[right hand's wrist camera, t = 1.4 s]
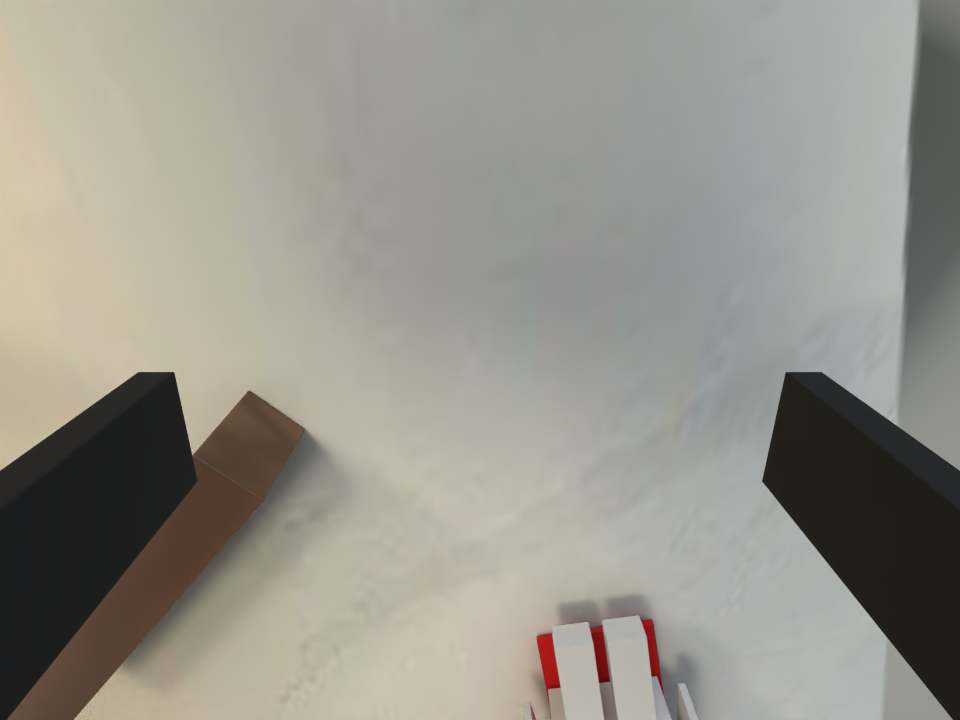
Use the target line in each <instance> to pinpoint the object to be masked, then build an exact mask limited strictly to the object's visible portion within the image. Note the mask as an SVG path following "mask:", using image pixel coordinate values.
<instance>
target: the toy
mask: <svg viewBox="0 0 960 720" xmlns="http://www.w3.org/2000/svg"><path fill="white" fill-rule="evenodd" d="M602 626H603V627H598V628H591V629H590V627H589V623H588V622H582V623H574V624H566V625H558V626H551V628H552V634H550V635H544V636H537V643H538V648H539V653H540V659H541V664H542V669H543V674H544V679H545V684H546V689H547V695H548V700H549V705H550V713H551V720H672V719H671V716H670V713H669V710H668V707H667V704H666V701H665V699H664V695H663V688H662V681H661V674H660V667H659V660H658V653H657V647H656V640H655V633H654V626H653V622H652V620H645V621H641V619H640V617H639V615H637V616H630V617H622V618H614V619H606V620H602ZM523 707H524V717H525V720H536V718H535V715H534V712H533V709H532V706H531V704H530V702H528V703H524V704H523ZM678 720H698V717H697V714H696V712H695V709H694V706H693V703H692V701H691V698H690V695H689V692H688V690H687V687H686V684H685V683H678Z"/></svg>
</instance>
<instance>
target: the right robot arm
mask: <svg viewBox="0 0 960 720" xmlns="http://www.w3.org/2000/svg"><path fill="white" fill-rule="evenodd" d="M197 482H198V480H197V476H196V471H195V466H194V462H193V457H192V452H191V448H190V443H189V439H188V434H187V429H186V425H185V420H184V415H183V411H182V406H181V401H180V397H179V392H178V388H177V383H176V378H175V374H174V372H138V373H137V374H135V375H134V376H133V377H131V378H130V379H128V380H127V381H126V382H124V383H123V384H121V385H120V386H119V387H117V388H116V389H114V390H113V391H111V392H110V393H109V394H107V395H106V396H104V397H103V398H102V399H100V400H99V401H97V402H96V403H95V404H93V405H92V406H90V407H89V408H88V409H86V410H85V411H83V412H82V413H81V414H79V415H78V416H76V417H75V418H74V419H72V420H71V421H69V422H68V423H67V424H65V425H64V426H62V427H61V428H60V429H58V430H57V431H55V432H54V433H53V434H51V435H50V436H48V437H47V438H46V439H44V440H43V441H41V442H40V443H39V444H37V445H36V446H34V447H33V448H32V449H30V450H29V451H27V452H26V453H25V454H23V455H22V456H20V457H19V458H18V459H16V460H15V461H13V462H12V463H11V464H9V465H8V466H6V467H5V468H4V469H2V470H1V471H0V720H7V719H8V718H9V717H10V715H11V714H12V713H13V712H14V710H15V709H16V708H17V707H18V705H19V704H20V703H21V702H22V700H23V699H24V698H25V697H26V695H27V694H28V693H29V692H30V690H31V689H32V688H33V687H34V685H35V684H36V683H37V682H38V680H39V679H40V678H41V677H42V675H43V674H44V673H45V672H46V670H47V669H48V668H49V667H50V665H51V664H52V663H53V662H54V660H55V659H56V658H57V657H58V655H59V654H60V653H61V652H62V650H63V649H64V648H65V647H66V645H67V644H68V643H69V642H70V640H71V639H72V638H73V637H74V635H75V634H76V633H77V632H78V630H79V629H80V628H81V627H82V625H83V624H84V623H85V622H86V620H87V619H88V618H89V617H90V615H91V614H92V613H93V612H94V610H95V609H96V608H97V607H98V605H99V604H100V603H101V602H102V600H103V599H104V598H105V597H106V595H107V594H108V593H109V592H110V590H111V589H112V588H113V587H114V585H115V584H116V583H117V582H118V580H119V579H120V578H121V577H122V575H123V574H124V573H125V572H126V570H127V569H128V568H129V567H130V565H131V564H132V563H133V562H134V560H135V559H136V558H137V557H138V555H139V554H140V553H141V552H142V550H143V549H144V548H145V547H146V545H147V544H148V543H149V542H150V540H151V539H152V538H153V537H154V535H155V534H156V533H157V532H158V530H159V529H160V528H161V527H162V525H163V524H164V523H165V522H166V520H167V519H168V518H169V517H170V515H171V514H172V513H173V512H174V510H175V509H176V508H177V507H178V505H179V504H180V503H181V502H182V500H183V499H184V498H185V497H186V495H187V494H188V493H189V492H190V490H191V489H192V488H193V487H194V485H195V484H196V483H197ZM762 482H763V483H764V484H765V485H766V487H767V488H768V489H769V490H770V492H771V493H772V494H773V495H774V497H775V498H776V499H777V500H778V502H779V503H780V504H781V505H782V507H783V508H784V509H785V510H786V512H787V513H788V514H789V515H790V517H791V518H792V519H793V520H794V522H795V523H796V524H797V525H798V527H799V528H800V529H801V530H802V532H803V533H804V534H805V535H806V537H807V538H808V539H809V540H810V542H811V543H812V544H813V545H814V547H815V548H816V549H817V550H818V552H819V553H820V554H821V555H822V557H823V558H824V559H825V560H826V562H827V563H828V564H829V565H830V567H831V568H832V569H833V570H834V572H835V573H836V574H837V575H838V577H839V578H840V579H841V580H842V582H843V583H844V584H845V585H846V587H847V588H848V589H849V590H850V592H851V593H852V594H853V595H854V597H855V598H856V599H857V600H858V602H859V603H860V604H861V605H862V607H863V608H864V609H865V610H866V612H867V613H868V614H869V615H870V617H871V618H872V619H873V620H874V622H875V623H876V624H877V625H878V627H879V628H880V629H881V630H882V632H883V633H884V634H885V635H886V637H887V638H888V639H889V640H890V642H891V643H892V644H893V645H894V647H895V648H896V649H897V650H898V652H899V653H900V654H901V655H902V657H903V658H904V659H905V660H906V662H907V663H908V664H909V665H910V666H911V668H912V669H913V670H914V672H915V673H916V674H917V675H918V676H919V678H920V679H921V680H922V681H923V683H924V684H925V685H926V687H927V688H928V689H929V690H930V692H931V693H932V694H933V695H934V697H935V698H936V699H937V700H938V702H939V703H940V704H941V705H942V707H943V708H944V709H945V710H946V712H947V713H948V714H949V715H950V717H951V718H952V719H953V720H960V471H959V470H958V469H956V468H955V467H954V466H952V465H951V464H949V463H948V462H947V461H945V460H944V459H942V458H941V457H940V456H938V455H937V454H935V453H934V452H933V451H931V450H930V449H928V448H927V447H926V446H924V445H923V444H921V443H920V442H919V441H917V440H916V439H914V438H913V437H912V436H910V435H909V434H907V433H906V432H904V431H903V430H902V429H900V428H899V427H898V426H896V425H895V424H893V423H892V422H891V421H889V420H888V419H886V418H885V417H884V416H882V415H881V414H879V413H878V412H877V411H875V410H874V409H872V408H871V407H870V406H868V405H867V404H865V403H864V402H863V401H861V400H860V399H858V398H857V397H856V396H854V395H853V394H851V393H850V392H849V391H847V390H846V389H844V388H843V387H841V386H840V385H839V384H837V383H836V382H834V381H833V380H832V379H830V378H829V377H827V376H826V375H825V374H823V373H822V372H786V374H785V378H784V383H783V388H782V392H781V397H780V401H779V406H778V411H777V415H776V420H775V425H774V429H773V434H772V439H771V443H770V448H769V452H768V457H767V462H766V466H765V471H764V476H763V480H762Z"/></svg>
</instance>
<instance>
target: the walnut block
mask: <svg viewBox="0 0 960 720" xmlns="http://www.w3.org/2000/svg"><path fill="white" fill-rule="evenodd" d="M303 431H304V428H302V427H301V426H299V425H298V424H296V423H295V422H294V421H292V420H291V419H289V418H288V417H286V416H285V415H283V414H282V413H281V412H279V411H278V410H276V409H275V408H273V407H272V406H270V405H269V404H268V403H266V402H265V401H263V400H262V399H260V398H259V397H257V396H256V395H254V394H253V393H252V392H250V391H248V392H247V393H246V394H245V396H244V397H243V398H242V399H241V400H240V401H239V402H238V404H237V405H236V406H235V407H234V408H233V409H232V410H231V412H230V413H229V414H228V415H227V416H226V417H225V419H224V420H223V421H222V422H221V423H220V424H219V425H218V427H217V428H216V429H215V430H214V431H213V432H212V434H211V435H210V436H209V437H208V438H207V439H206V440H205V442H204V443H203V444H202V445H201V446H200V447H199V449H198V450H197V451H196V452H195V453H194V454H193V456H192V457H193V462H194V466H195V471H196V476H197V480H198V482H197V483H196V484H195V485H194V487H193V488H192V489H191V490H190V492H189V493H188V494H187V495H186V497H185V498H184V499H183V500H182V502H181V503H180V504H179V505H178V507H177V508H176V509H175V510H174V512H173V513H172V514H171V515H170V517H169V518H168V519H167V520H166V522H165V523H164V524H163V525H162V527H161V528H160V529H159V530H158V532H157V533H156V534H155V535H154V537H153V538H152V539H151V540H150V542H149V543H148V544H147V545H146V547H145V548H144V549H143V550H142V552H141V553H140V554H139V555H138V557H137V558H136V559H135V560H134V562H133V563H132V564H131V565H130V567H129V568H128V569H127V570H126V572H125V573H124V574H123V575H122V577H121V578H120V579H119V580H118V582H117V583H116V584H115V585H114V587H113V588H112V589H111V590H110V592H109V593H108V594H107V595H106V597H105V598H104V599H103V600H102V602H101V603H100V604H99V605H98V607H97V608H96V609H95V610H94V612H93V613H92V614H91V615H90V617H89V618H88V619H87V620H86V622H85V623H84V624H83V625H82V627H81V628H80V629H79V630H78V632H77V633H76V634H75V635H74V637H73V638H72V639H71V640H70V642H69V643H68V644H67V645H66V647H65V648H64V649H63V650H62V652H61V653H60V654H59V655H58V657H57V658H56V659H55V660H54V662H53V663H52V664H51V665H50V667H49V668H48V669H47V670H46V672H45V673H44V674H43V675H42V677H41V678H40V679H39V680H38V682H37V683H36V684H35V685H34V687H33V688H32V689H31V690H30V692H29V693H28V694H27V695H26V697H25V698H24V699H23V700H22V702H21V703H20V704H19V705H18V707H17V708H16V709H15V710H14V712H13V713H12V714H11V715H10V717H9V718H8V719H7V720H74V719H75V717H76V716H77V715H78V714H79V713H80V712H81V710H82V709H83V708H84V707H85V706H86V705H87V704H88V702H89V701H90V700H91V699H92V698H93V697H94V695H95V694H96V693H97V692H98V691H99V690H100V689H101V687H102V686H103V685H104V684H105V683H106V682H107V680H108V679H109V678H110V677H111V676H112V675H113V674H114V672H115V671H116V670H117V669H118V668H119V667H120V665H121V664H122V663H123V662H124V661H125V660H126V659H127V657H128V656H129V655H130V654H131V653H132V652H133V650H134V649H135V648H136V647H137V646H138V645H139V644H140V642H141V641H142V640H143V639H144V638H145V637H146V635H147V634H148V633H149V632H150V631H151V630H152V628H153V627H154V626H155V625H156V624H157V623H158V622H159V620H160V619H161V618H162V617H163V616H164V615H165V613H166V612H167V611H168V610H169V609H170V608H171V607H172V605H173V604H174V603H175V602H176V601H177V600H178V598H179V597H180V596H181V595H182V594H183V593H184V592H185V590H186V589H187V588H188V587H189V586H190V585H191V583H192V582H193V581H194V580H195V579H196V578H197V577H198V575H199V574H200V573H201V572H202V571H203V570H204V568H205V567H206V566H207V565H208V564H209V563H210V562H211V560H212V559H213V558H214V557H215V556H216V555H217V553H218V552H219V551H220V550H221V549H222V548H223V547H224V545H225V544H226V543H227V542H228V541H229V540H230V538H231V537H232V536H233V535H234V534H235V533H236V532H237V530H238V529H239V528H240V527H241V526H242V525H243V523H244V522H245V521H246V520H247V519H248V518H249V517H250V515H251V514H252V513H253V512H254V511H255V510H256V508H257V507H258V506H259V505H260V504H261V503H262V502H263V500H264V499H265V497H266V495H267V493H268V492H269V490H270V488H271V486H272V485H273V483H274V481H275V479H276V478H277V476H278V474H279V473H280V471H281V469H282V467H283V466H284V464H285V462H286V460H287V459H288V457H289V455H290V453H291V452H292V450H293V448H294V446H295V445H296V443H297V441H298V439H299V438H300V436H301V434H302V432H303Z"/></svg>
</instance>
